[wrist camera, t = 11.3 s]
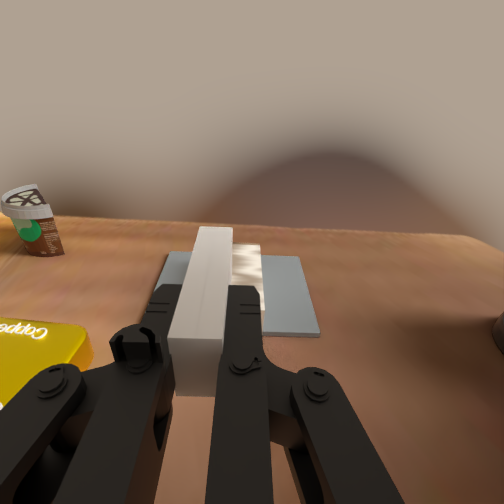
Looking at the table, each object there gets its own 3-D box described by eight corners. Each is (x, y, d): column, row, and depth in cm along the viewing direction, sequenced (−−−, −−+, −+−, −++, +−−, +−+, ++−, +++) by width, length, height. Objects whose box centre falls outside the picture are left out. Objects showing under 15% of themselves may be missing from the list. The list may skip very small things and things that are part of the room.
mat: (298, 260, 56) (298, 256, 56) (319, 337, 40) (320, 333, 40) (170, 254, 55) (170, 251, 54) (139, 332, 39) (138, 327, 38)
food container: (14, 238, 56) (-7, 188, 51) (51, 230, 60) (35, 182, 55) (24, 269, 49) (1, 213, 43) (66, 257, 52) (49, 205, 47)
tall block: (261, 339, 38) (257, 268, 52) (264, 310, 35) (259, 243, 49) (199, 337, 38) (211, 266, 51) (197, 308, 35) (211, 241, 49)
